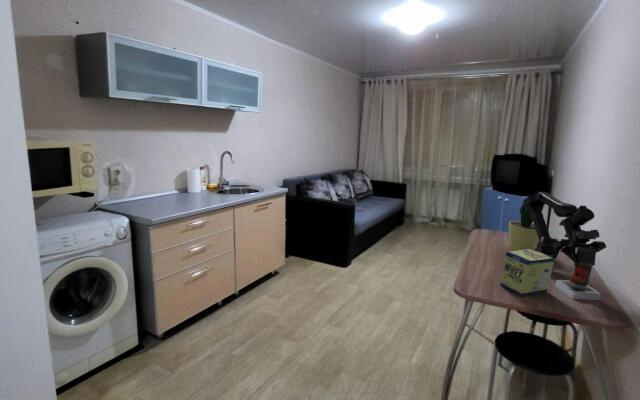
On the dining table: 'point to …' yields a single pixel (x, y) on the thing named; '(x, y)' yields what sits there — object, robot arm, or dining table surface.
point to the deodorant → (583, 266)
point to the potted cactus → (522, 232)
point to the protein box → (527, 272)
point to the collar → (584, 294)
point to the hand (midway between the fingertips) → (585, 265)
